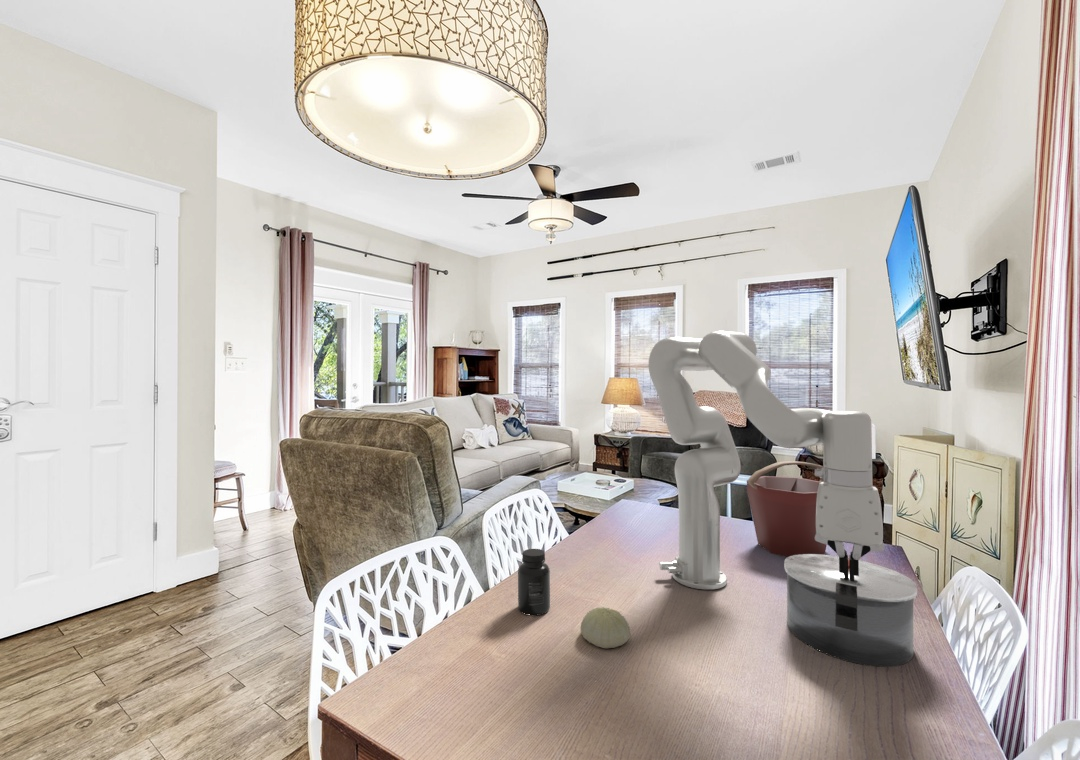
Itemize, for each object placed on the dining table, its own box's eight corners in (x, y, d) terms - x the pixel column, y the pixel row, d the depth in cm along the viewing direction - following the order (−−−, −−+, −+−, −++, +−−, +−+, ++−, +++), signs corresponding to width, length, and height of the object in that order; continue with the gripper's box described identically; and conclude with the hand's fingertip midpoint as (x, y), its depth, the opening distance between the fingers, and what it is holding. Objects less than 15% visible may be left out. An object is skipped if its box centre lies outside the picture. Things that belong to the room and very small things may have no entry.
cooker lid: (929, 624, 71) (929, 607, 71) (775, 589, 82) (775, 576, 82) (909, 574, 92) (909, 562, 92) (789, 553, 103) (789, 542, 104)
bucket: (824, 539, 142) (824, 457, 142) (858, 567, 121) (857, 471, 121) (738, 533, 147) (738, 454, 147) (756, 560, 126) (756, 467, 126)
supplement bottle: (555, 604, 101) (555, 549, 101) (542, 619, 95) (541, 560, 95) (526, 598, 104) (526, 544, 104) (512, 612, 97) (512, 555, 97)
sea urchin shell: (602, 649, 81) (584, 603, 86) (584, 664, 86) (569, 619, 91) (643, 636, 85) (624, 592, 90) (624, 650, 90) (607, 608, 95)
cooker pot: (925, 701, 70) (925, 634, 70) (777, 657, 81) (777, 600, 81) (906, 623, 93) (906, 573, 93) (792, 598, 104) (792, 553, 104)
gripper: (799, 477, 87) (800, 576, 87) (900, 486, 79) (902, 595, 78) (802, 471, 93) (803, 563, 93) (896, 478, 85) (898, 580, 85)
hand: (849, 577), depth 86 cm, fingers closed
